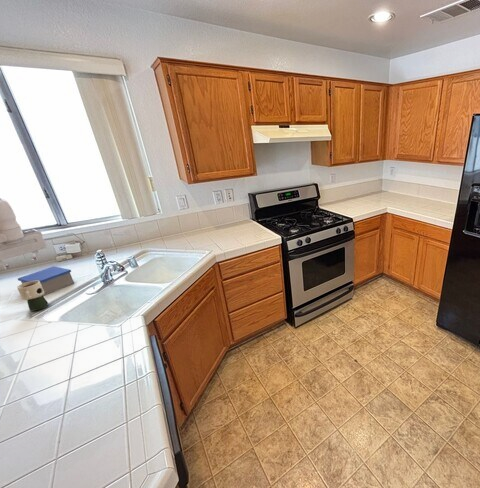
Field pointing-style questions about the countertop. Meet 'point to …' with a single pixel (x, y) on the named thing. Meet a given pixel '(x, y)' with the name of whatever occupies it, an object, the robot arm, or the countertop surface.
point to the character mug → (33, 295)
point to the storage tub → (50, 278)
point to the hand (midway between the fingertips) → (21, 264)
